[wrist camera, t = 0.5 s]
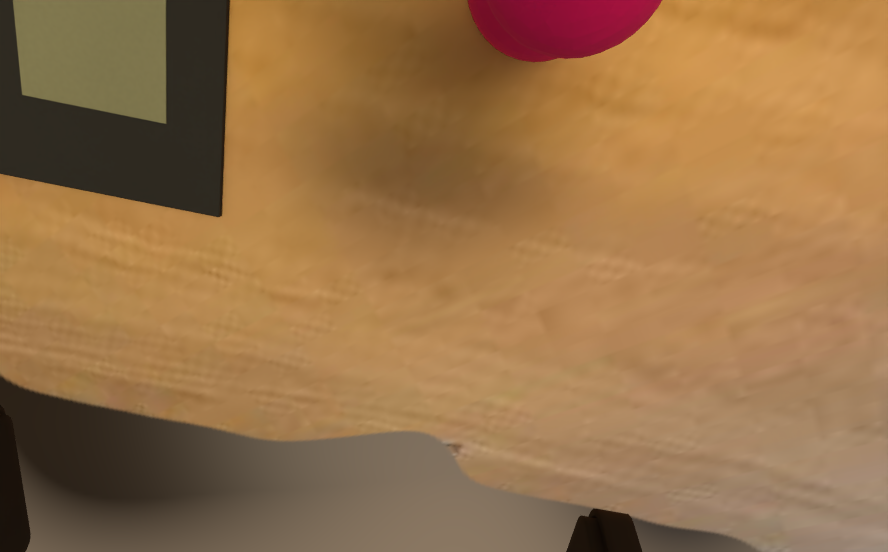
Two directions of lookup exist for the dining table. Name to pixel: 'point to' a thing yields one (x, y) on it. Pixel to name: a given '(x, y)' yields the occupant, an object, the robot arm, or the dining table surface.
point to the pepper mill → (558, 25)
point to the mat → (116, 97)
